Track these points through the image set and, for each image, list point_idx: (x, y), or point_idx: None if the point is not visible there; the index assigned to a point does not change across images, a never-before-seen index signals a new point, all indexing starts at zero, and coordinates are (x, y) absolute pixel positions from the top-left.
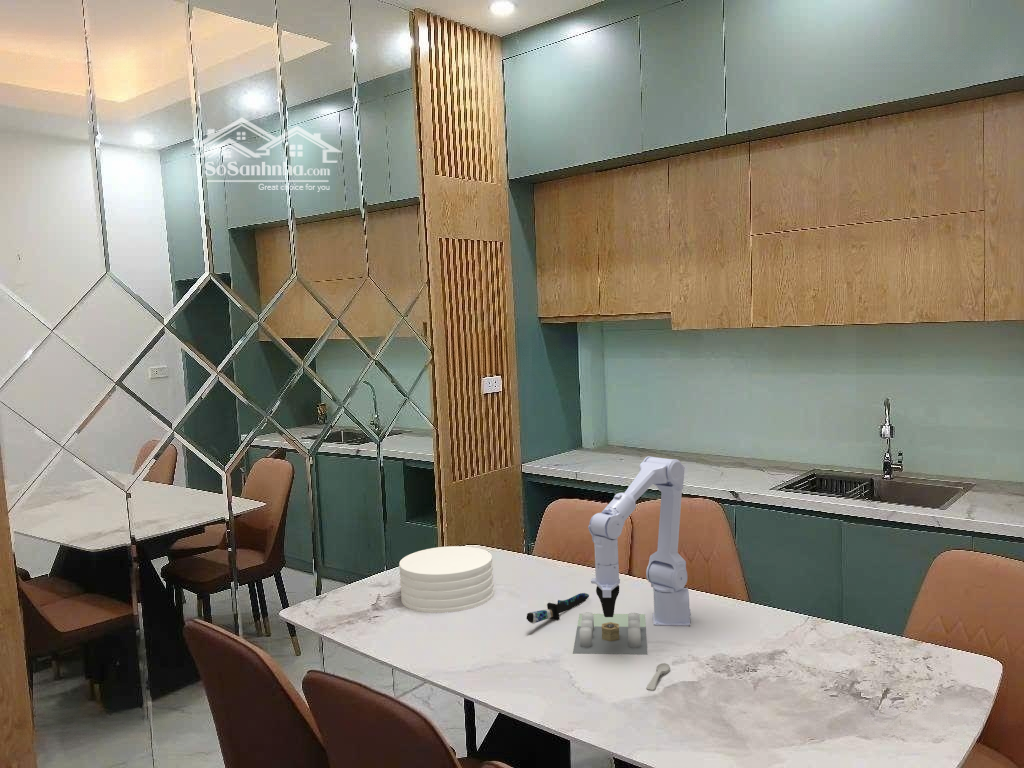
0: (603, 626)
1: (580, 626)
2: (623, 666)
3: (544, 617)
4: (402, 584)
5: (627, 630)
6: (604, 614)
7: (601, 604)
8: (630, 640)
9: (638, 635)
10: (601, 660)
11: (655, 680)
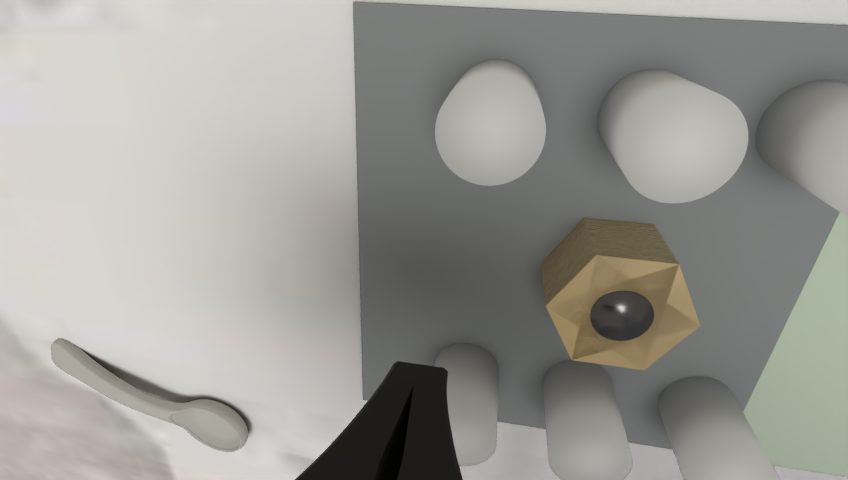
0: (618, 270)
1: None
2: (234, 286)
3: None
4: None
5: (694, 369)
6: (385, 378)
7: (324, 452)
8: None
9: None
10: (285, 189)
11: (91, 385)
